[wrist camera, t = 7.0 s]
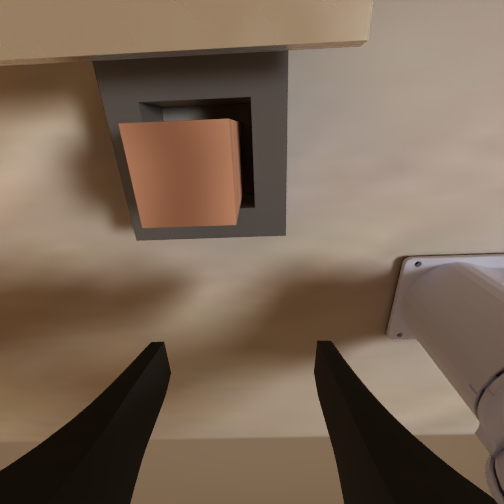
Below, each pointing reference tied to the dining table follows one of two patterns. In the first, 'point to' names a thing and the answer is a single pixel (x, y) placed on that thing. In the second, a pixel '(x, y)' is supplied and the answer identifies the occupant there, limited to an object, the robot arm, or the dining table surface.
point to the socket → (207, 93)
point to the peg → (185, 171)
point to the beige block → (173, 28)
